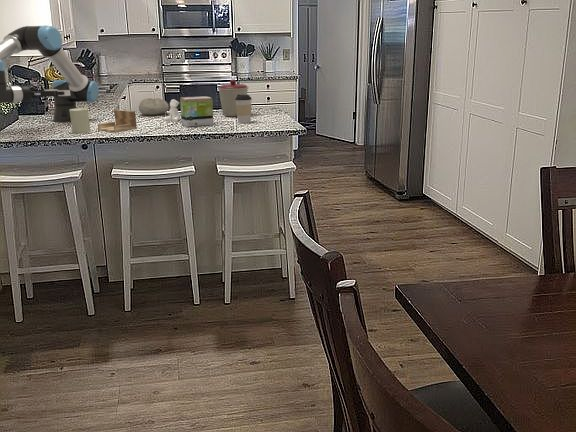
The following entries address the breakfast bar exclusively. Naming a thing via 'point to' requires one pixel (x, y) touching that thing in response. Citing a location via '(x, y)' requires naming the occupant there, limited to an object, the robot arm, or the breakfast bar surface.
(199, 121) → the tea box
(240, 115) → the coffee cup
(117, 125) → the cradle
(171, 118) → the white creature statuette
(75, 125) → the can
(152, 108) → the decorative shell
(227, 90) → the canister
